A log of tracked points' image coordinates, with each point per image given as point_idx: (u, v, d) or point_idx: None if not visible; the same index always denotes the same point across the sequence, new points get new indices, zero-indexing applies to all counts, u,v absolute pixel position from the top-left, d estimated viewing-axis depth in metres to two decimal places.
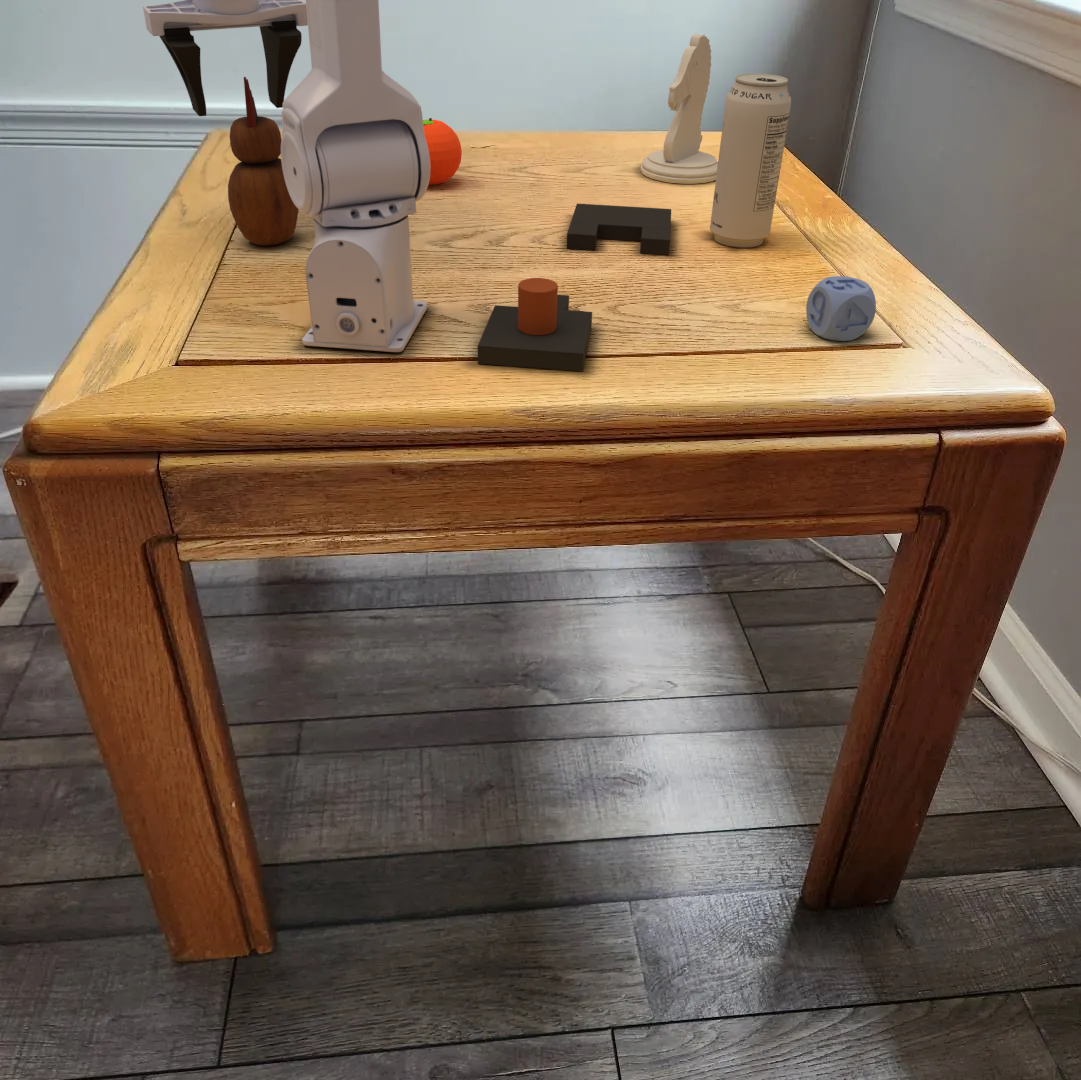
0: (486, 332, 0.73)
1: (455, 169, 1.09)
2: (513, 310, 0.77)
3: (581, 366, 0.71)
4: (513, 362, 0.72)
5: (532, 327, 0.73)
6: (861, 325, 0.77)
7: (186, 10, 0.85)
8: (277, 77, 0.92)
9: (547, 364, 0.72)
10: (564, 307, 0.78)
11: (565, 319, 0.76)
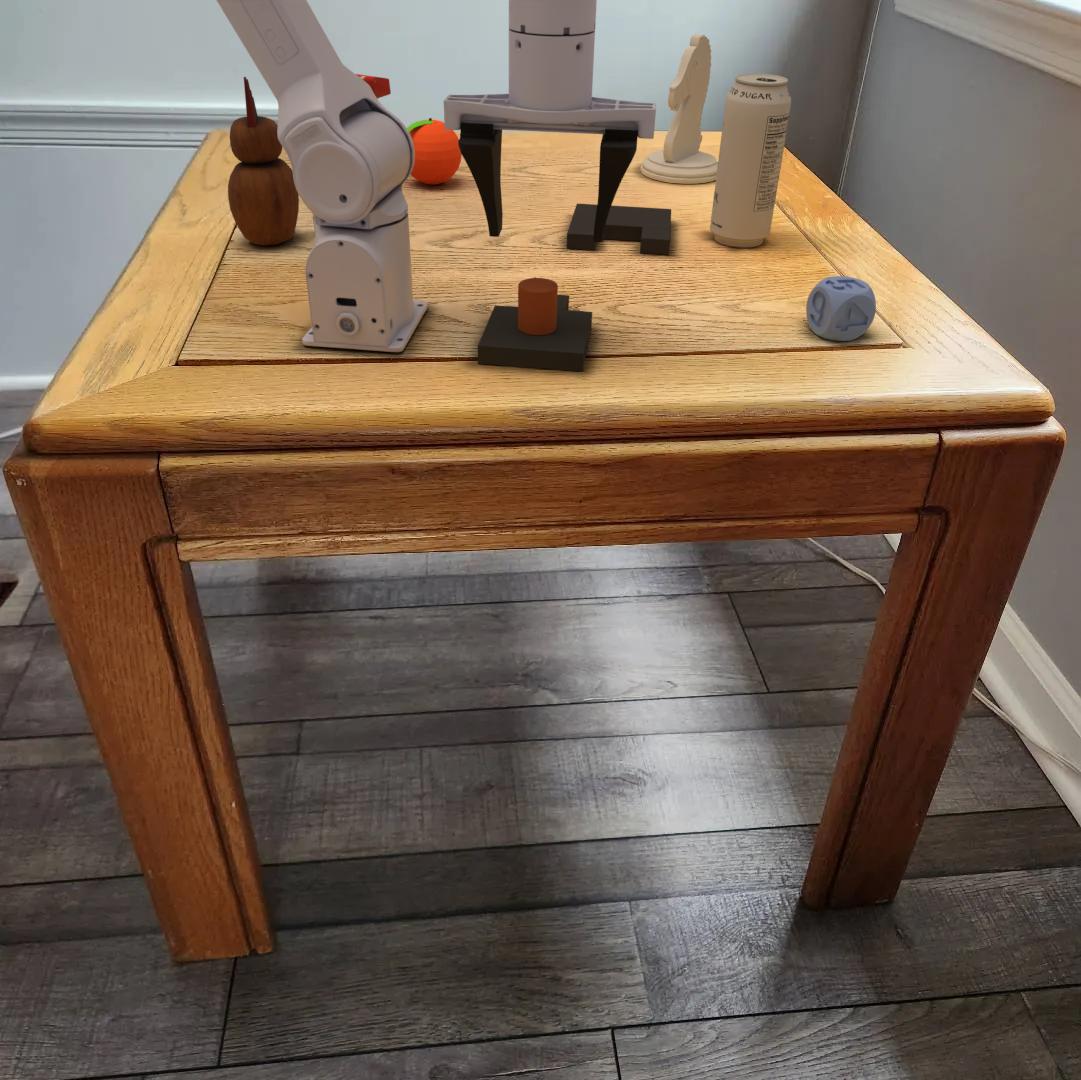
0: (486, 332, 0.73)
1: (455, 169, 1.09)
2: (513, 310, 0.77)
3: (581, 366, 0.71)
4: (513, 362, 0.72)
5: (532, 327, 0.73)
6: (861, 325, 0.77)
7: (495, 103, 0.66)
8: None
9: (547, 364, 0.72)
10: (564, 307, 0.78)
11: (565, 319, 0.76)
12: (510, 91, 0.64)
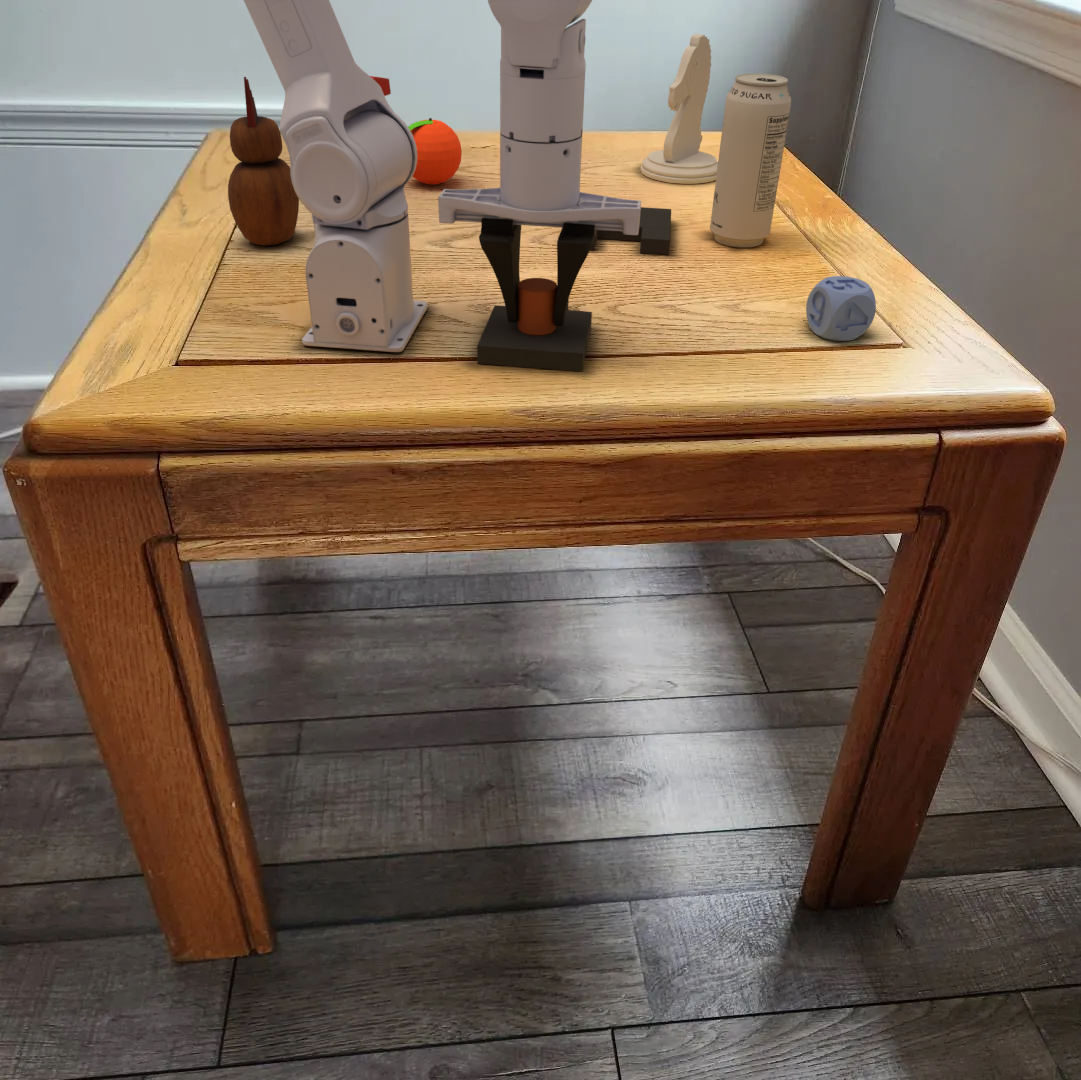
0: (486, 332, 0.73)
1: (455, 169, 1.09)
2: None
3: (581, 366, 0.71)
4: (512, 362, 0.72)
5: (532, 327, 0.73)
6: (861, 325, 0.77)
7: (487, 199, 0.69)
8: (557, 289, 0.71)
9: (547, 364, 0.72)
10: None
11: None
12: (501, 190, 0.67)
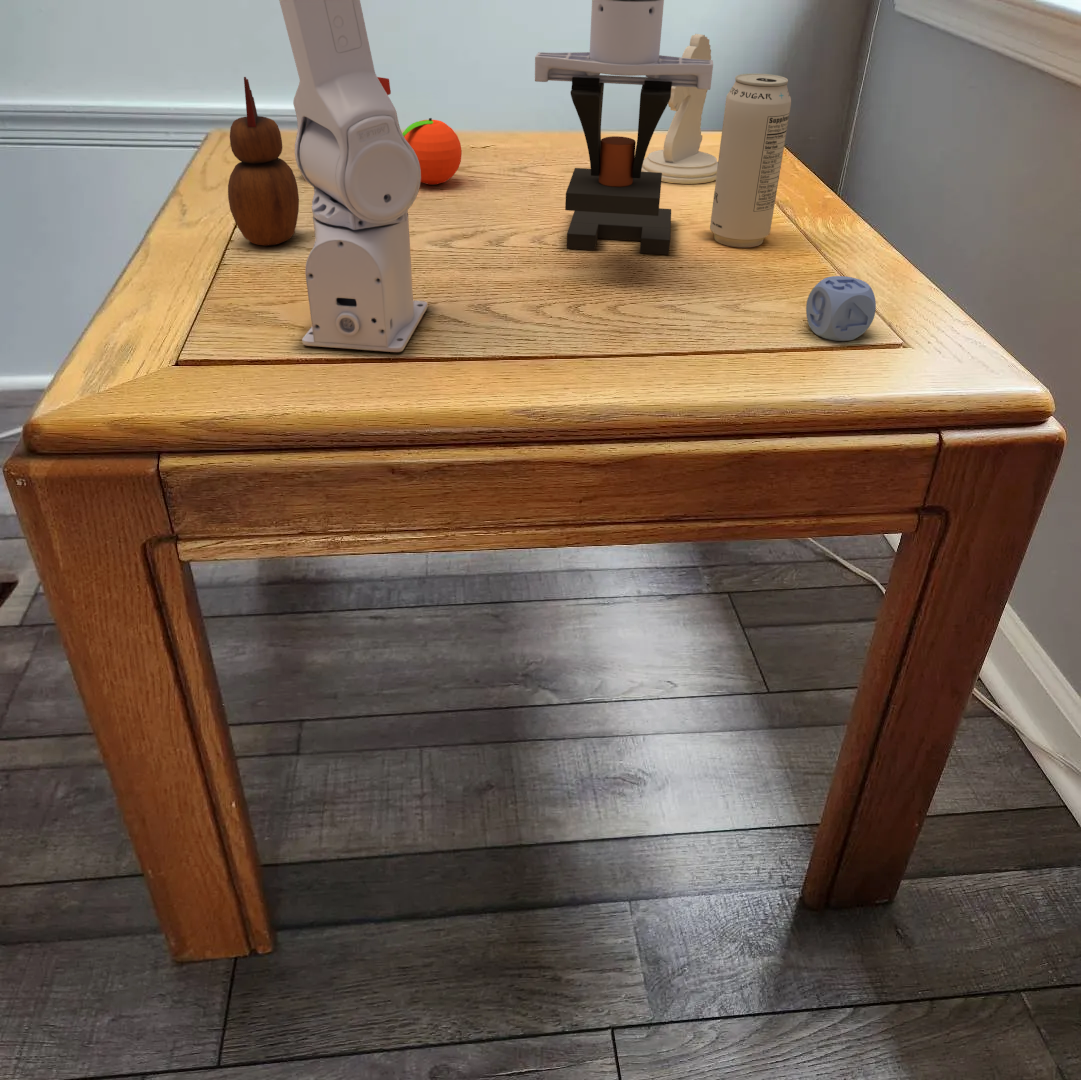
0: (571, 184, 0.83)
1: (455, 169, 1.09)
2: None
3: (657, 210, 0.81)
4: (596, 208, 0.82)
5: (612, 179, 0.82)
6: (861, 325, 0.77)
7: (577, 59, 0.78)
8: None
9: (627, 209, 0.81)
10: None
11: None
12: (591, 48, 0.77)
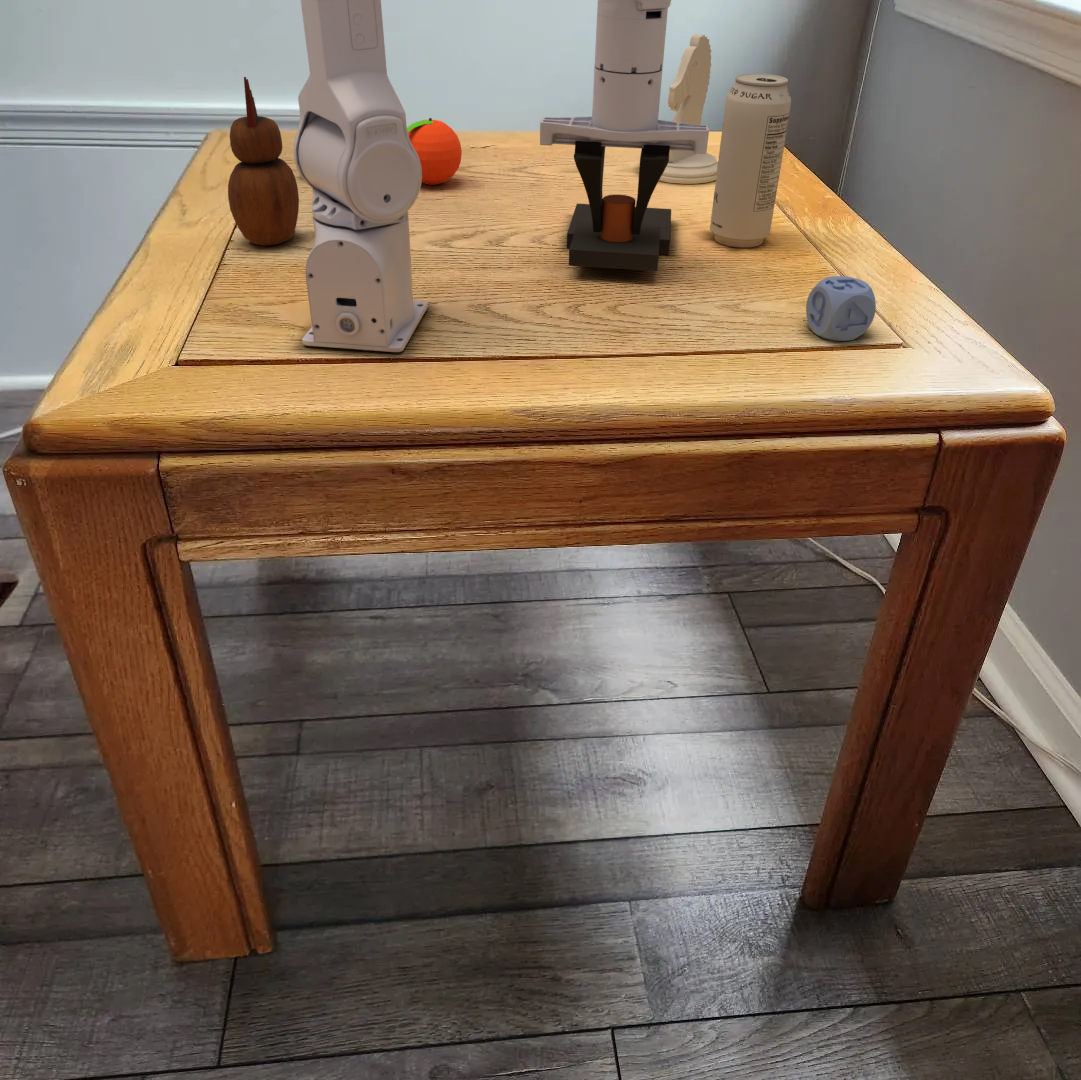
0: (574, 240, 0.87)
1: (455, 169, 1.09)
2: None
3: (656, 266, 0.85)
4: (598, 264, 0.86)
5: (613, 235, 0.87)
6: (861, 325, 0.77)
7: (580, 124, 0.83)
8: None
9: (627, 265, 0.85)
10: None
11: None
12: (594, 115, 0.81)
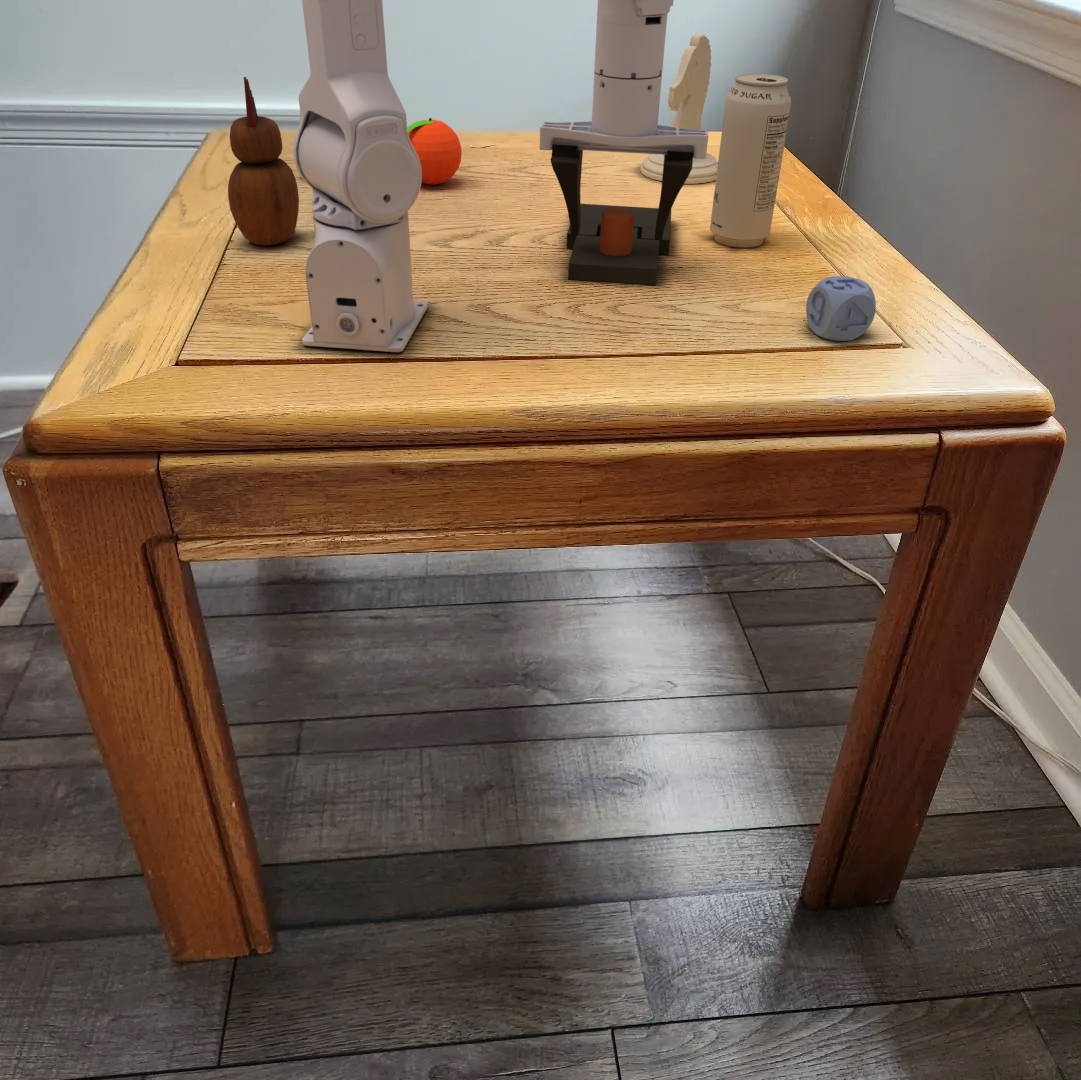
0: (574, 254, 0.88)
1: (455, 169, 1.09)
2: (593, 238, 0.92)
3: (655, 280, 0.86)
4: (598, 277, 0.86)
5: (613, 249, 0.87)
6: (861, 325, 0.77)
7: (580, 129, 0.83)
8: (659, 207, 0.85)
9: (626, 279, 0.86)
10: (635, 236, 0.92)
11: (637, 245, 0.90)
12: (593, 120, 0.81)
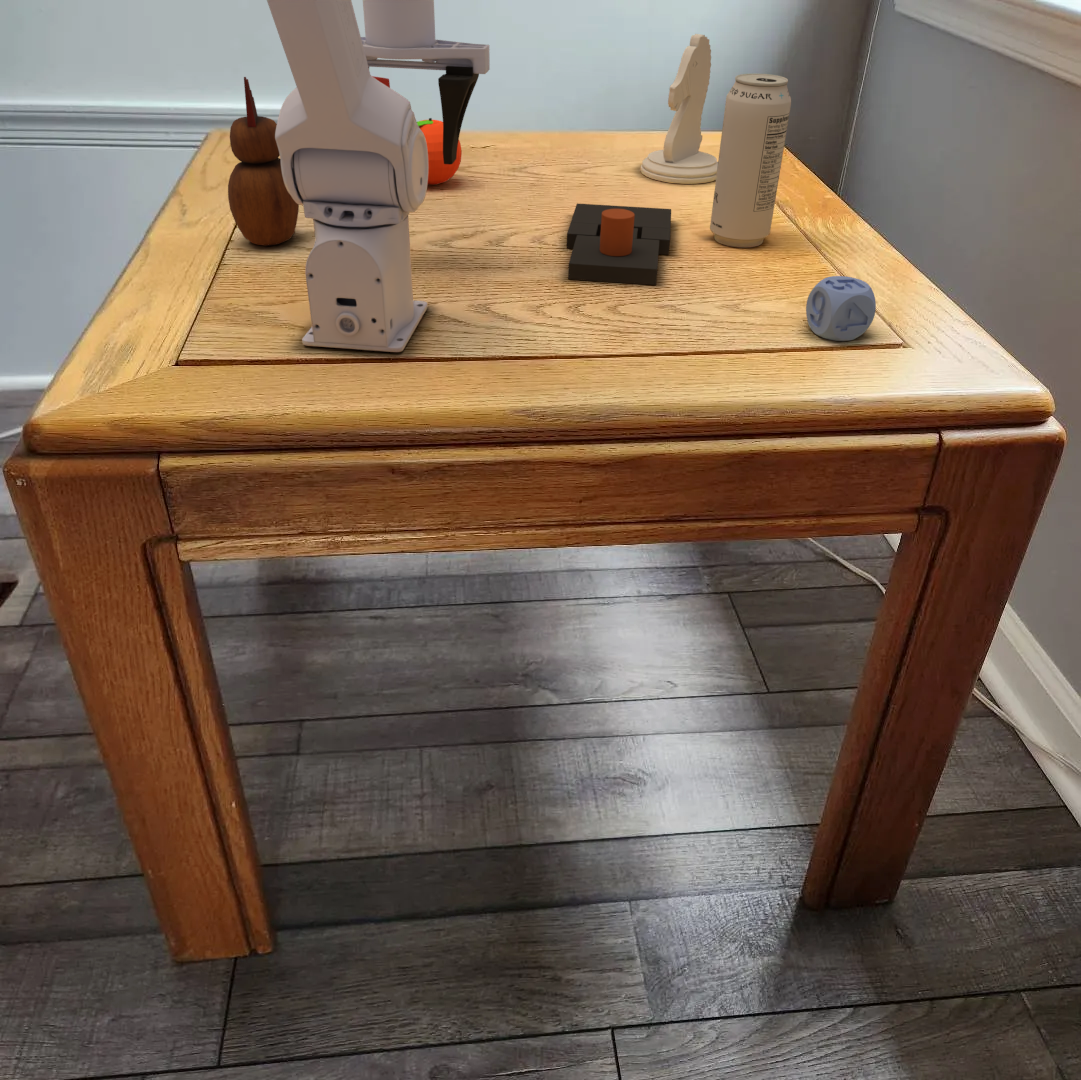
0: (574, 254, 0.88)
1: (455, 169, 1.09)
2: (593, 238, 0.92)
3: (655, 280, 0.86)
4: (598, 277, 0.86)
5: (613, 249, 0.87)
6: (861, 325, 0.77)
7: None
8: (443, 127, 0.81)
9: (626, 279, 0.86)
10: (635, 236, 0.92)
11: (637, 245, 0.90)
12: (365, 32, 0.77)
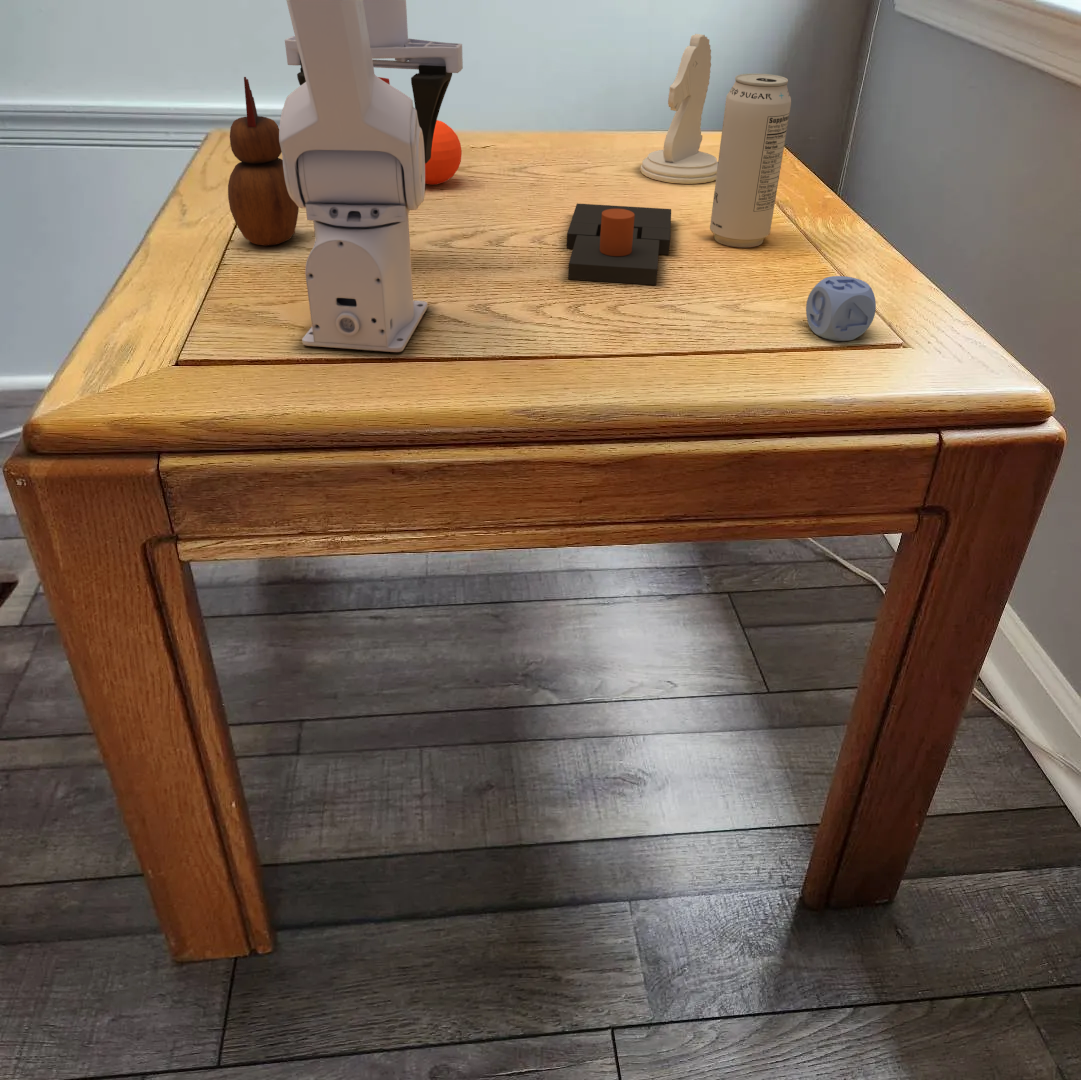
0: (574, 254, 0.88)
1: (455, 169, 1.09)
2: (593, 238, 0.92)
3: (655, 280, 0.86)
4: (598, 277, 0.86)
5: (613, 249, 0.87)
6: (861, 325, 0.77)
7: None
8: None
9: (626, 279, 0.86)
10: (635, 236, 0.92)
11: (637, 245, 0.90)
12: None
